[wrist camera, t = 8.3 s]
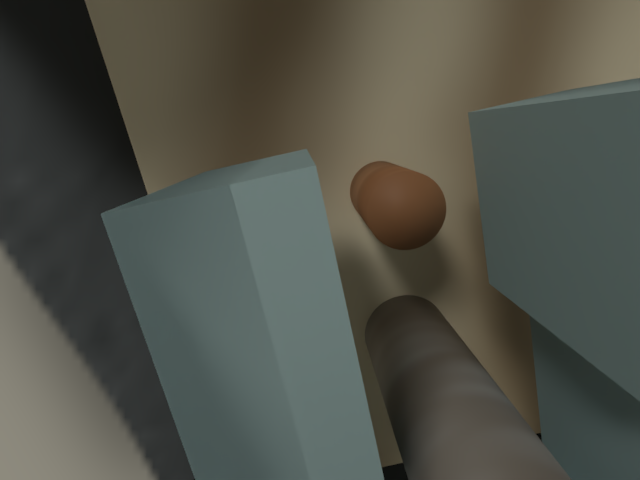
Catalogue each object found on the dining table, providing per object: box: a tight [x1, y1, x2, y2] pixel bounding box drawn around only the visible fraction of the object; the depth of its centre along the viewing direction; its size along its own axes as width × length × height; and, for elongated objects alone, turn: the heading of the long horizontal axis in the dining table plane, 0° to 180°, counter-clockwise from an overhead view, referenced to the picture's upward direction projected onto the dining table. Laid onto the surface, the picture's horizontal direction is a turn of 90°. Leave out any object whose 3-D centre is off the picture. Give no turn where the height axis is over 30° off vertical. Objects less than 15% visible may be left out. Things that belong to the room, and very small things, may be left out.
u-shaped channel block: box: [101, 78, 640, 480], centre depth 7 cm, size 10×7×4 cm
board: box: [85, 0, 640, 480], centre depth 9 cm, size 20×16×8 cm
